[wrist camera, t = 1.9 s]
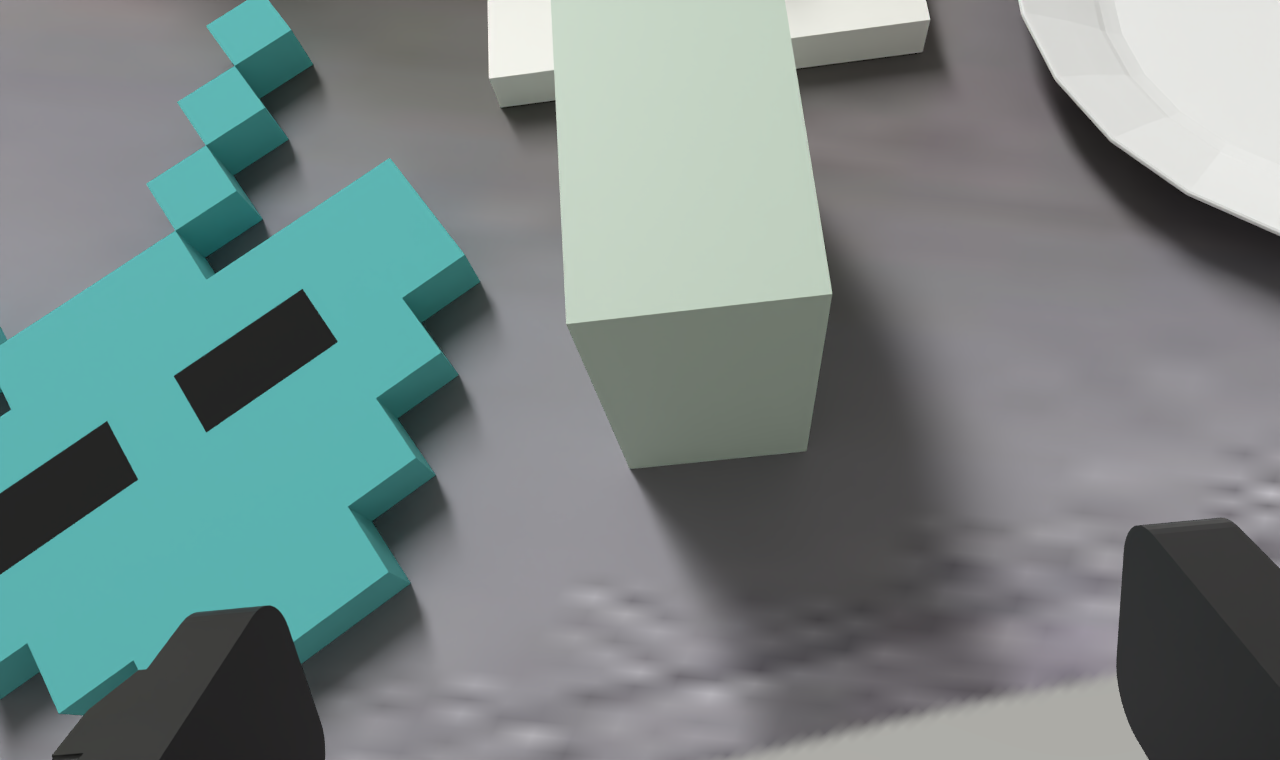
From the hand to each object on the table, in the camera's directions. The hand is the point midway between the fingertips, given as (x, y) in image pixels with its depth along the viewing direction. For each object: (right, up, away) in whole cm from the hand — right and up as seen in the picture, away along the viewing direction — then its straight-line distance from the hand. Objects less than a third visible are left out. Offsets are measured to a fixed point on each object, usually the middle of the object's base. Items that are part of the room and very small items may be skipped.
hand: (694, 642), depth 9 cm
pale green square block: (+1, +5, +20) cm, 21 cm away
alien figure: (-15, +2, +21) cm, 26 cm away
